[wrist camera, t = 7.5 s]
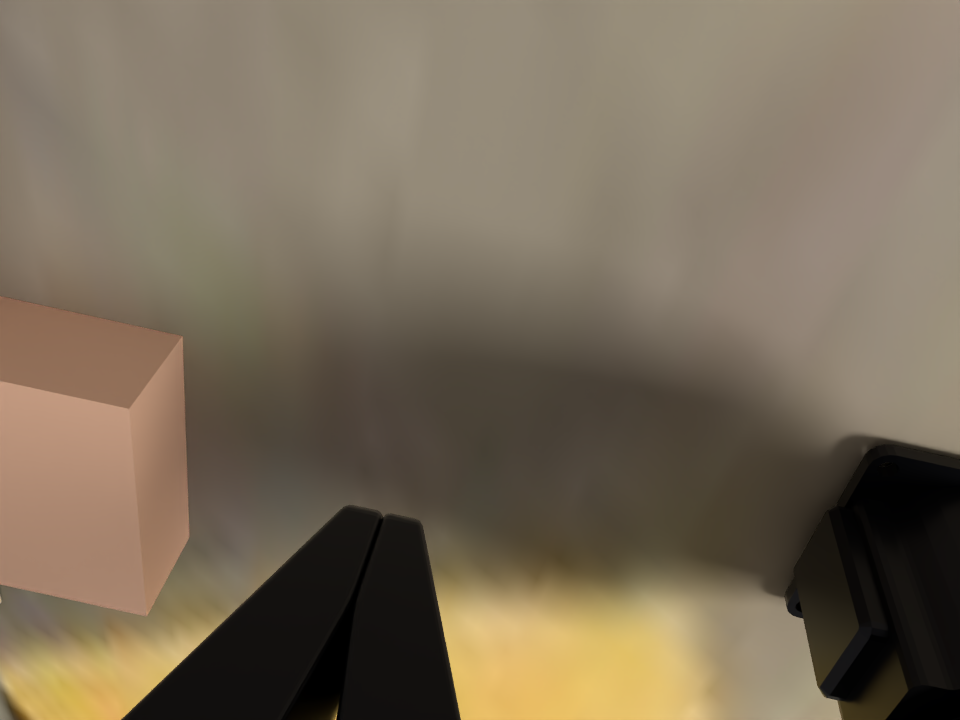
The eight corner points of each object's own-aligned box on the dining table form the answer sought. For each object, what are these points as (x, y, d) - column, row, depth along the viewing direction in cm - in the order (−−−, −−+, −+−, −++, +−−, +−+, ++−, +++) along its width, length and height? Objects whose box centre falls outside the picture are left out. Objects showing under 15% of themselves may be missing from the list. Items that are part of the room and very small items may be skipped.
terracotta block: (187, 329, 24) (129, 409, 21) (193, 529, 29) (146, 616, 26) (-64, 275, 24) (-155, 347, 21) (-16, 483, 29) (-86, 565, 26)
